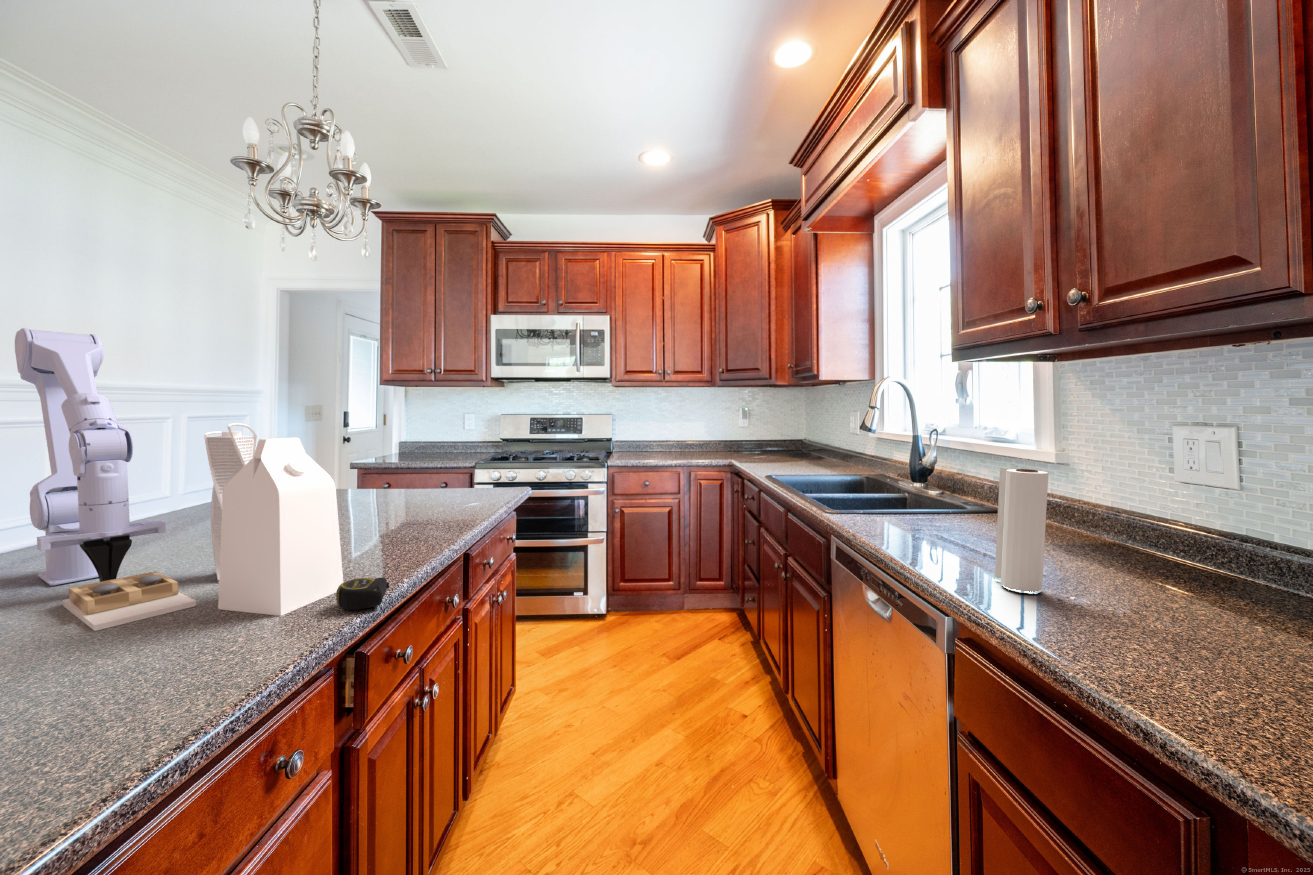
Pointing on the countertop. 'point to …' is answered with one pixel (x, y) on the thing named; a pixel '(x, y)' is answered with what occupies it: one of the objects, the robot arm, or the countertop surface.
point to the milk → (279, 532)
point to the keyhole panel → (122, 593)
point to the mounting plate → (130, 607)
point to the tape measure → (361, 593)
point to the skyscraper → (225, 472)
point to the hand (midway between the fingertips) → (108, 583)
